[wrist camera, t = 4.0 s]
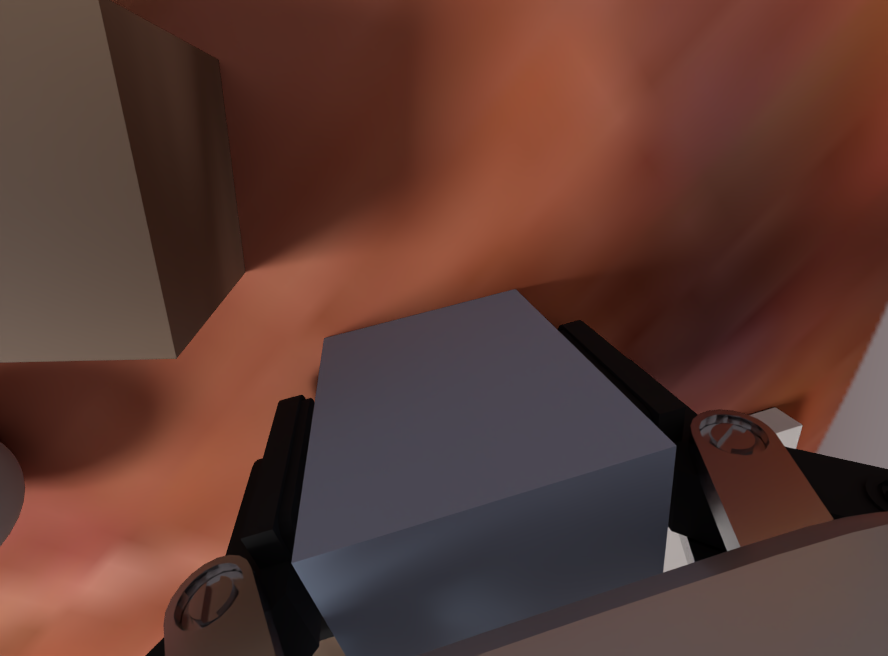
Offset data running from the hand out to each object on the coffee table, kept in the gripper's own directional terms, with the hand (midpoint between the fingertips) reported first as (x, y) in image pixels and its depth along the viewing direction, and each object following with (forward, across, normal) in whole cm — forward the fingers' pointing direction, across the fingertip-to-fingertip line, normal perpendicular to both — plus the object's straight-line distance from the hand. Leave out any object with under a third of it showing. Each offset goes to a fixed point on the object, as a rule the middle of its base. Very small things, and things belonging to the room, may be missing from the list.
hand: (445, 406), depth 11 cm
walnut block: (+1, +5, -7) cm, 9 cm away
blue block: (+1, 0, 0) cm, 1 cm away
